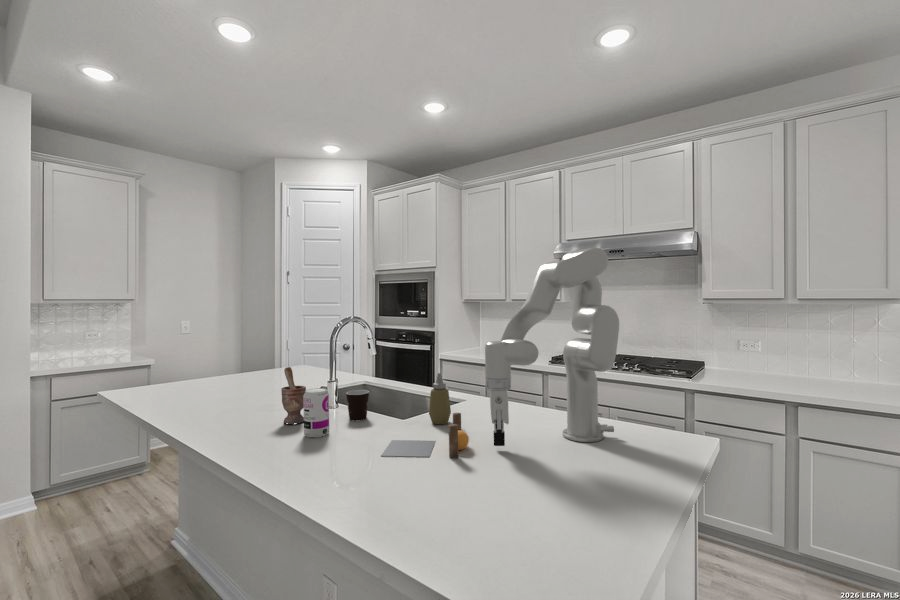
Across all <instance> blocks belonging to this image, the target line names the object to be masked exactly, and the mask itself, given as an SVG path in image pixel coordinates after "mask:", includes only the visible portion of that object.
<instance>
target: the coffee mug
mask: <svg viewBox="0 0 900 600" xmlns="http://www.w3.org/2000/svg"><path fill="white" fill-rule="evenodd" d="M345 395H346V404H347V409H348V418H349V421H352V420H354V421H353V422H357V421H356V420H360V421H364V420H366V419H367V416H368V406H369V397H370V391H369V390H366V389H356V390H349V391H347V392H346V393H345ZM363 419H364V420H363Z"/></svg>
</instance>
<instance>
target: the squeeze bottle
mask: <svg viewBox="0 0 900 600" xmlns="http://www.w3.org/2000/svg"><path fill="white" fill-rule="evenodd" d="M428 409H429V410H428V414H429V418H430V421H431V423H432V424H435V425H445V424H448V423H449V420H450V416H451V413H452V410H451V409H452V408H451V403H450V392H449V389H448V388H447V383H446V382H444V380H443V376H442V373H441V372H439V373H438V372H437V376H436V380H435V382H434V383H433V384H432V389H431V390H430V395H429V408H428Z"/></svg>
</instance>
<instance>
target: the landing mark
mask: <svg viewBox="0 0 900 600" xmlns="http://www.w3.org/2000/svg"><path fill="white" fill-rule="evenodd" d="M435 444H436V440H421V439H420V440H419V439H418V440H415V439H414V440H410V439H407V440H406V439H392V440H391V441H390V442H389V443H388V445H387V447H386V448H385V449H384V451H383V452H382V453H381V455H380V457H385V456H392V458H393V456H394V457H395V458H398V457H399V458H400V457H401V458H403V457H404V458H411V457H412V458H430V456H431V453H432V450H433V449H434V446H435Z"/></svg>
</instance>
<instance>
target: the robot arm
mask: <svg viewBox="0 0 900 600" xmlns="http://www.w3.org/2000/svg"><path fill="white" fill-rule="evenodd" d="M608 266H609V257H608V254H607V253H606V251H605V250H603V249H602V248H601V247H589V248H582V249H575V250H572V251H569V252H567V253H565V254H564V255H562V258H561V259H560V260H555V261H549V262H545V263H543V264H542V265H540V267H539V268H538V270H537V273H536V275H535V277H534V280H533V282H532V284H531V286H530V289H529V292H528V294H527V297H526V299H525V301H524V303H523V305H522V306H521V308H520V309H518V311H517V312H516V313H515V314H514V316H513V317H512V318H511V319H510V321H509V322H508V323H507V325H506V326H505V329H504V331H503V334H502V337H501V339H500V340H491V341H487V342H486V344H485V346H484V358H485V359H484V361H485V364H484V367H485V373H484V374H485V389H486V390H489V407H490V417H491V423H492V424H493V427H494V429H493V445H494V447H505V445H506V443H505V442H506V439H505V437H506V434H505V428H504V427H505V425H504V424H506V425H508V424H510V423H509V419H510V418H509V417H510V416H509V415H510V414H509V392H508V390H510V389H512V370H511V369H512V365H514V366H522V367H523V366H530V365H533V364H534V363H535V362H536V361H537V360H538V357H539V349H538V347H537V345H536V344H535V343H533V342H532V341H530V340H526V339H525V337H526V335H527V334H528V333H529V331H530V330H531V328H533V327H534V326H535V325H537V324H538V323H541V322H542V321H543V320H546V319H547V318H548V317H549V316H550V315H551V314H552V312H553V308H554V306H555V304H556V300H557V298H558V296H559V293H560V291H561V289H570V288H574V289H573V290H574V297H573V306H572V312H571V313H572V315H571V326H572V329H573V330H574V331H575V332H576V333H578V334H581V335H587V336H588V335H589V336H590V338H581V337H576V338H572V339H570V340H568V341H567V342H566V343H565V345H564V347H563V351H562V355H563V356H562V357H563V364H564V365H565V375H566V412H567V413H566V415H567V416H566V418H567V419H566V423H567V426H566V428H564V429H563V430H562V436H563V438H565V439H567V440H570V441H573V442H580V443H594V442H600V441H602V440H603V439H604V433H606V432H607V433H614V432H615V429H614V428H615V426H613V425H608V424H601V423H600V422H599V405H598V404H599V403H598V402H599V401H598V400H599V399H598V396H599V395H598V390H599V389H598V387H599V386H598V385H599V384H598V378H597V374H596V372H599V373H601V372H602V373H603V372H607V371H609V370H610V369H611V368H613V366H614V364H615V360H616V357H617V352H618V351H617V350H618V349H617V348H618V340H619V333H620V319H619V315H618V313H617V311H616V310H615V309H614V308H613V307H611V306H609V305H606V304H605V305H604V304H603V305H602V295H603V289H602V285H601V282H600V280H599V278H598V277H599V276H600V275H602V274H603V273H604V272H605V271H606V270H607V268H608Z"/></svg>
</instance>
